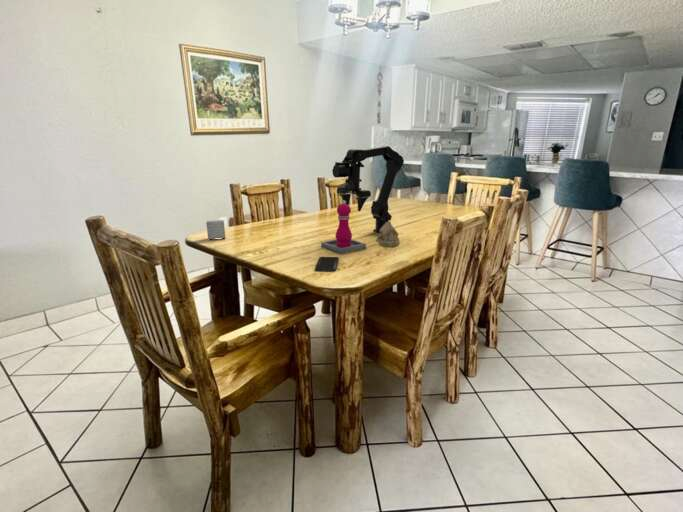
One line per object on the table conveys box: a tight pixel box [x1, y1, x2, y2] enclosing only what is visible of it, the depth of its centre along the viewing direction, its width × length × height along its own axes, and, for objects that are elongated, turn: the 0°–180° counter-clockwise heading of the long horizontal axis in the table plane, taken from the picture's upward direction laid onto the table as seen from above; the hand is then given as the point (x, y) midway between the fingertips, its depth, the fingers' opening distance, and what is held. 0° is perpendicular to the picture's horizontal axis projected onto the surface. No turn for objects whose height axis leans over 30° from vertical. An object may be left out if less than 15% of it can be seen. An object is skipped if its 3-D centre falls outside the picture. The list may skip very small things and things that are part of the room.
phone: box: [314, 256, 340, 273], centre depth 137 cm, size 8×1×15 cm
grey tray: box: [320, 238, 367, 255], centre depth 158 cm, size 14×14×2 cm
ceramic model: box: [375, 220, 400, 247], centre depth 166 cm, size 14×11×10 cm
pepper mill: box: [335, 199, 353, 248], centre depth 156 cm, size 7×7×20 cm
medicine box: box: [205, 219, 226, 240], centre depth 173 cm, size 8×4×9 cm, turn 108°
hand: (352, 209), depth 175 cm, fingers open, 9 cm apart
